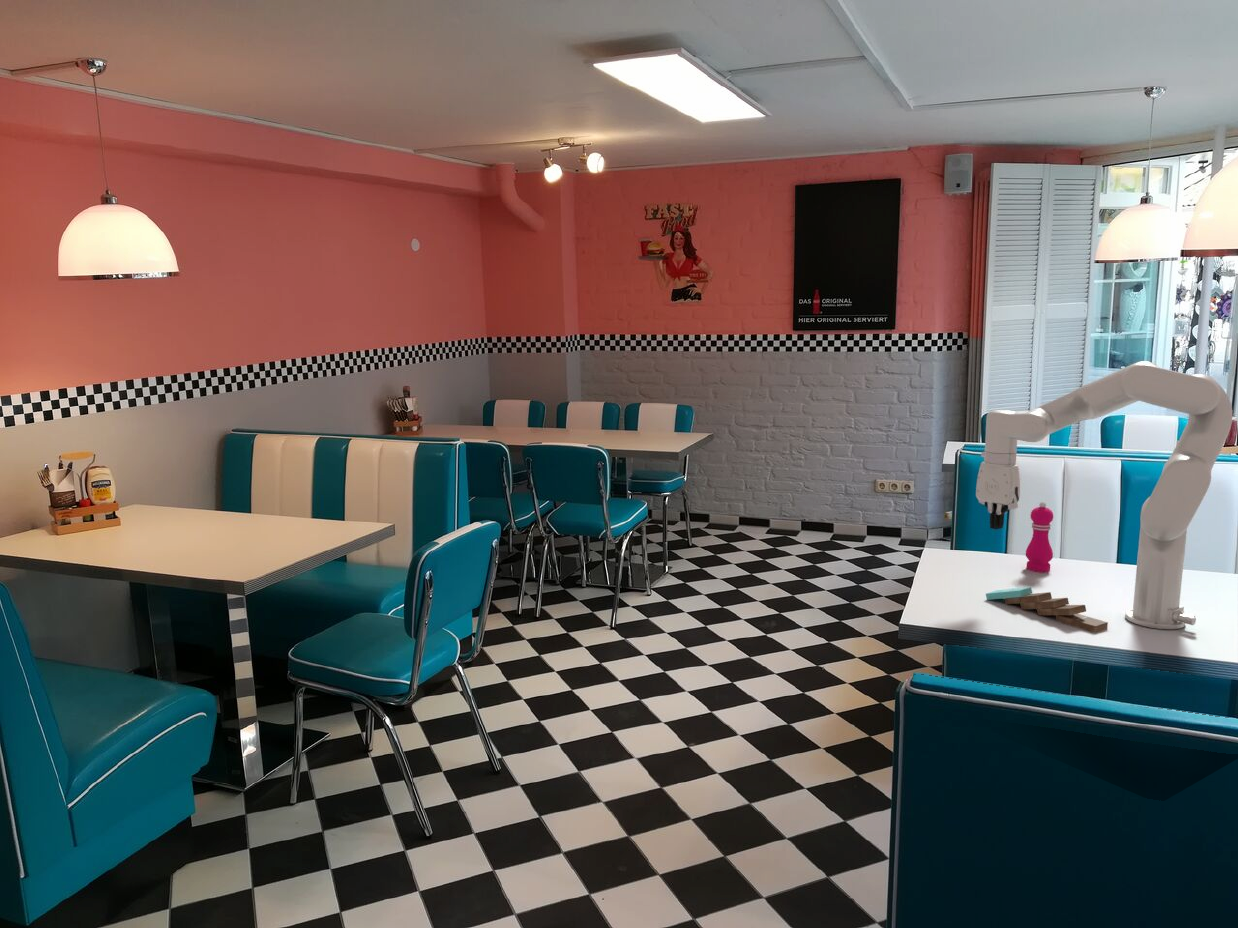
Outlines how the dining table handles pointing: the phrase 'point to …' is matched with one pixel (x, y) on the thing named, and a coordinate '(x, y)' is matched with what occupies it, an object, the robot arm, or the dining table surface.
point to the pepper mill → (1040, 540)
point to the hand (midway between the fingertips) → (996, 528)
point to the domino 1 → (1009, 593)
